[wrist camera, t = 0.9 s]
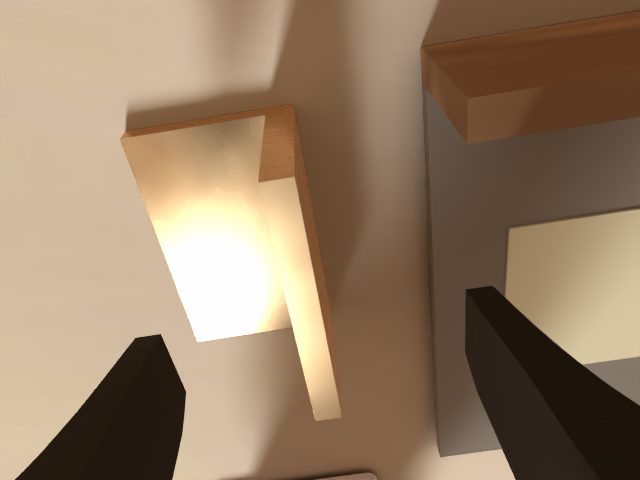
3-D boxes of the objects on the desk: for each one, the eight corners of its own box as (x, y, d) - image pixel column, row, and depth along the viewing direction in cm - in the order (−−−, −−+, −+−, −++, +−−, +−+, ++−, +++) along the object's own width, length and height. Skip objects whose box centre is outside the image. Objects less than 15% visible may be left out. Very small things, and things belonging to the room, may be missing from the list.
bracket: (330, 307, 20) (341, 417, 15) (200, 326, 20) (177, 440, 16) (293, 101, 15) (295, 176, 11) (127, 128, 15) (66, 213, 11)
